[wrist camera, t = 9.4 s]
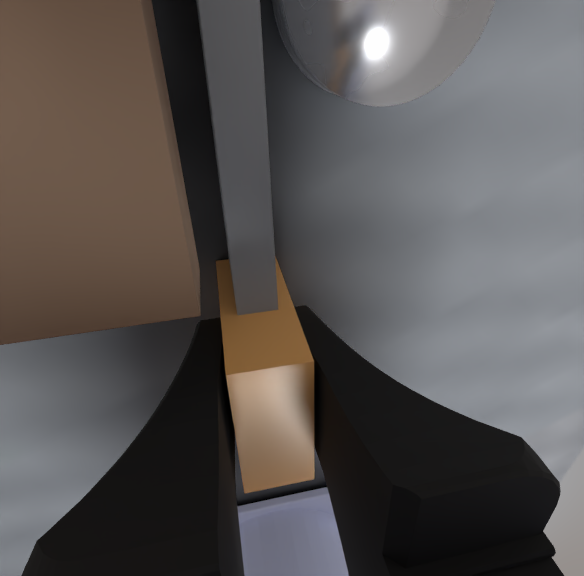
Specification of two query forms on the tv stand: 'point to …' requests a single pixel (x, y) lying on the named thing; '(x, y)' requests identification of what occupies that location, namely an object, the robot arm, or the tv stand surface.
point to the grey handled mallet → (254, 262)
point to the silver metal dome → (380, 44)
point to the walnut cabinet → (89, 173)
